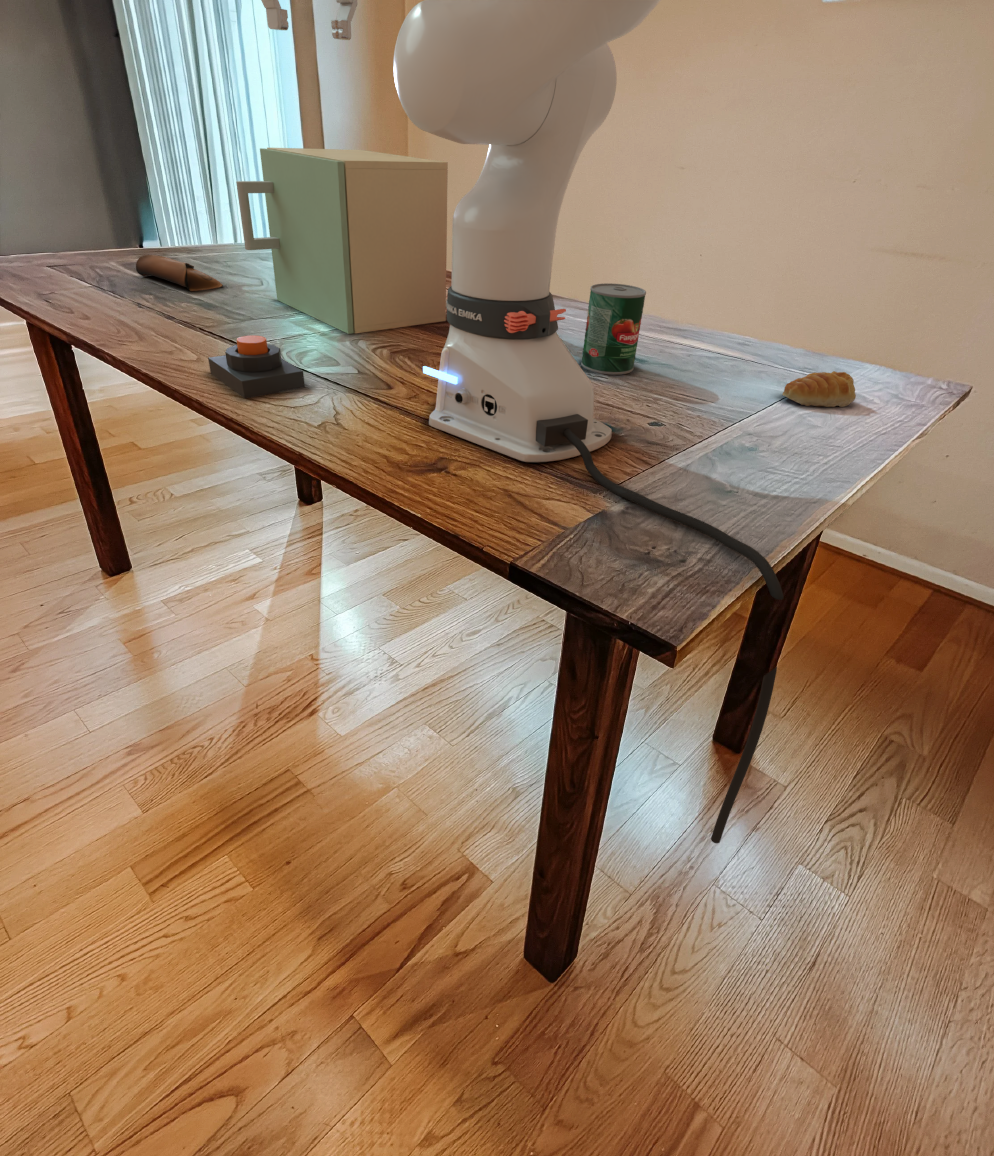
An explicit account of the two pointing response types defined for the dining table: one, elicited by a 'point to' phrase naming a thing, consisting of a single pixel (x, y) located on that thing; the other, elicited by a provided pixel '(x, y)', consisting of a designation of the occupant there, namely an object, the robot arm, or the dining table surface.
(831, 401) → the pastry
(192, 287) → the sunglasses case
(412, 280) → the cupboard
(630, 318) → the canned tomato
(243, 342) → the button
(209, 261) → the dining table surface
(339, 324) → the cupboard door
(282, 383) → the control block
